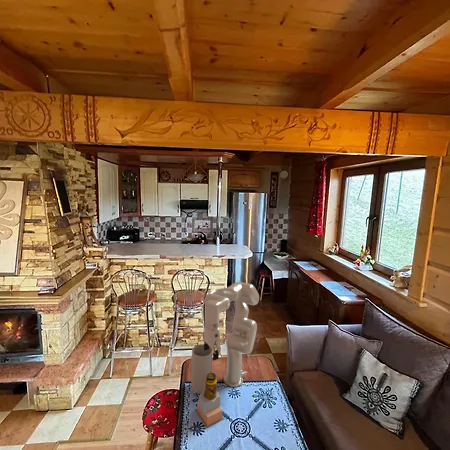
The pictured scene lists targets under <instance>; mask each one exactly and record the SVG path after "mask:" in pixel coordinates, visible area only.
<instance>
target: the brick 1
mask: <svg viewBox="0 0 450 450" xmlns="http://www.w3.org/2000/svg"><path fill="white" fill-rule="evenodd" d="M200 396H201V395H199V396H198V401H199V407H200V408H201V410H202V412H203V413H204V414H205V413H207V412H209V411H211V410H213V409H215V408H217V407H219V406H220V407H221V395H220V394H219V393H218V395H217V397H216V399H215V401H214V402H213V401H209V400H206V399H203V398H200Z"/></svg>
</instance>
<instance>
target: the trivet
mask: <svg viewBox="0 0 450 450" xmlns="http://www.w3.org/2000/svg"><path fill="white" fill-rule="evenodd" d="M194 411H195V412H196V413H197V416H198V417H199V419H200V420H201V422H202V424H203V425H204V427H205V429H208V428H211V427H212V426H215V425H216V424H218V423H220V422H222V421H224V420H225V417H224V416H223V415H222V419H220V420H218V421H217V422H215V423H213V424H211V425H209V426H207V425H206V423H205V421H204V420H203V418H202V417H201V415H200V414H199V412H198V410H197V408H195V409H194Z"/></svg>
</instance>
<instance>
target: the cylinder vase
mask: <svg viewBox="0 0 450 450" xmlns="http://www.w3.org/2000/svg"><path fill="white" fill-rule="evenodd" d="M212 370H213V348H211V347H210V346H209V349H208V350H205V351H204V343H203V344H197V345H195V346H193V347H192V349H191V380H190V381H191V385H190V388H191V390H192V391H193V392H194V393H195V394H202V393H203V391H204V389H205V388H206V378H207V374H209V373H213V371H212Z"/></svg>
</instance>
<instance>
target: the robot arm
mask: <svg viewBox="0 0 450 450" xmlns="http://www.w3.org/2000/svg"><path fill="white" fill-rule="evenodd" d="M259 301H260V294H259V292H258V291H257V289H256V287H255V285H254V284H252V283H249V282H247V283H246V282H242V281H235V282H234V283H232V284H230V285H229V286H228V287H223V288H216V289H213V290H211V291H210V292H208V293H207V294H206V296H205V298H204V301H203V303H204V331H203V332H202V335H203V337H202V338H203V344H204V351H205V350H208V349H209V346H210V347H211V348H212V361H216V360H218V359H219V356H220V352H221V350H222V348H221V332H220V331H221V330H220V314H221V313H224V312H226V311H228V309H229V308H230V306H231V302H235V307H236V308H235V313H234V316H233V320H232V330H233V331H235V332H237V333H235V332H233V333H228V335H227V336H226V339H225V344H226V373H225V375H224V376H223V382H224V383H225V385H227V386H229V387H233V388H236V387H240V386H241V385H242V384H243V382H244V376H245V375H247V374H248V372H247V371H246V370H245V371H244V370H243V369H242V361H243V355H242V353H243V354H245V355H249V354H251V353H252V352H253V349H254V346H255V345H254V344H255V341H256V334H257V330H258V324H257V322H256V321H255V319H254V320H253V319H251V318H249V312H250V309H249V306H248V305H250V306H255V305H258V303H259ZM238 333H240V334H238ZM241 334H244V335H246V336H244V335H241Z"/></svg>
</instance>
